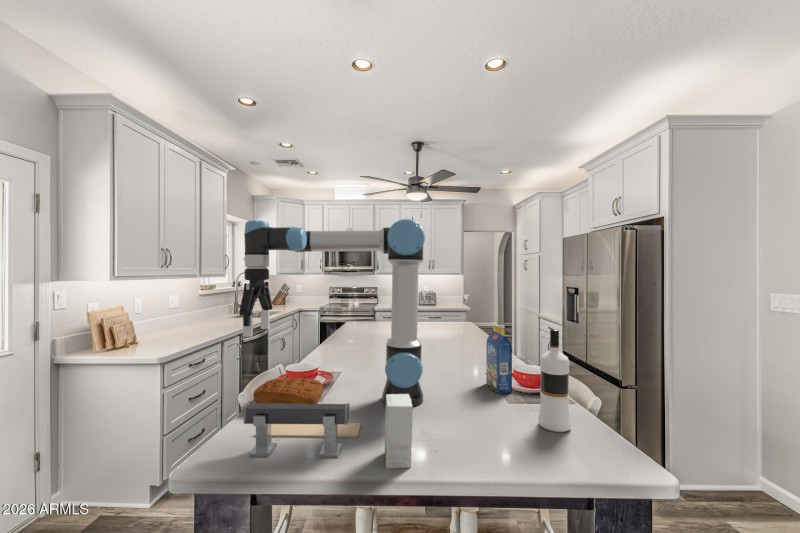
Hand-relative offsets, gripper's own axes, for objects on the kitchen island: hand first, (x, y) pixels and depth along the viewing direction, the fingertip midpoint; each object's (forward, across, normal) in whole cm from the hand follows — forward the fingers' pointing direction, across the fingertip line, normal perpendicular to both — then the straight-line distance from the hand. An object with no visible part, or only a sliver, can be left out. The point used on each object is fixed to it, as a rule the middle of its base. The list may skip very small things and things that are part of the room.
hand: (256, 332), depth 119 cm
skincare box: (+28, +26, +47) cm, 61 cm away
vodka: (+28, +5, +95) cm, 99 cm away
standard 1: (+28, +22, +11) cm, 37 cm away
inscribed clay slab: (+28, -10, +8) cm, 30 cm away
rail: (+20, +22, +20) cm, 36 cm away
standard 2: (+28, +22, +29) cm, 46 cm away
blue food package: (+28, -30, +87) cm, 96 cm away
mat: (+28, +10, +20) cm, 36 cm away
